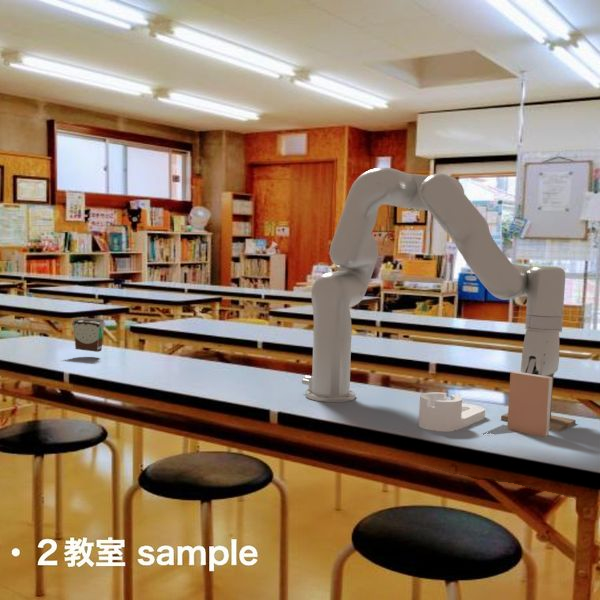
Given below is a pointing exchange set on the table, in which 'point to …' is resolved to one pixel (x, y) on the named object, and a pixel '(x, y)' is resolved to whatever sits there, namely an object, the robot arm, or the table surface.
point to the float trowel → (552, 417)
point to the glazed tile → (529, 403)
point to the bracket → (447, 412)
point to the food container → (88, 334)
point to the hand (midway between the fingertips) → (539, 405)
